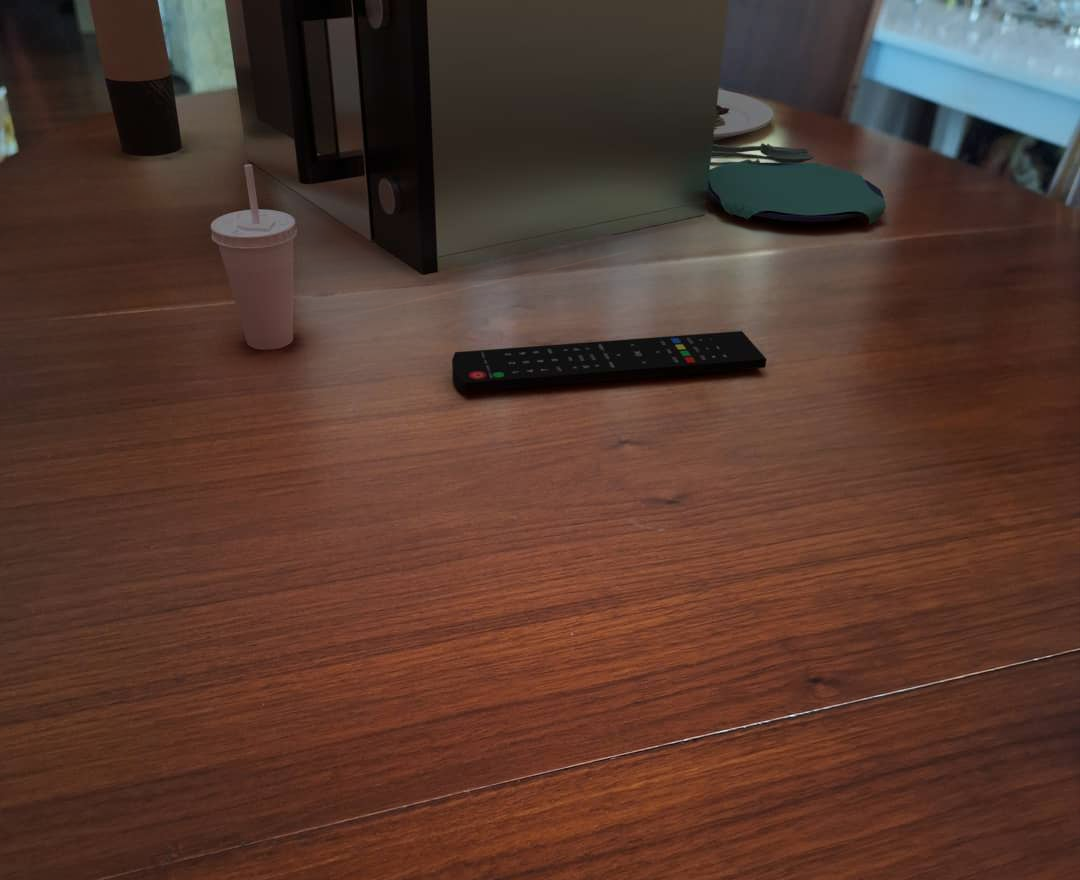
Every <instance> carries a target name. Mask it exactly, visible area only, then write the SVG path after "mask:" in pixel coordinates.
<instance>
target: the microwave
mask: <svg viewBox="0 0 1080 880" xmlns="http://www.w3.org/2000/svg"><path fill="white" fill-rule="evenodd" d="M356 1H357V14H358V27H359V40H360V53H361V66H362V79H363V93H364V106H365V119H366V132H367V145H368V158H369V171H370V184H371V198H372V211H373V224H374V237H375V241H374V243H375V244H377V245H378V246H380V247H382V248H383V249H385V250H386V251H388V252H389V253H390V254H392V255H394V256H395V257H397V258H398V259H400V260H401V261H402V262H404V263H406V264H407V265H408V266H411V268H413V269H415V270H416V271H417V272H420V273H421V274H429V273H433V272H437V273H439V272H445V271H449V270H454V269H458V268H463V267H468V266H473V265H477V264H481V263H486V262H491V261H495V260H501V259H504V258H510V257H513V256H514V257H515V256H518V255H522V254H523V255H524V254H527V253H531V252H536V251H541V250H546V249H550V248H556V247H560V246H565V245H569V244H573V243H574V244H575V243H579V242H583V241H588V240H592V239H597V238H601V237H606V236H610V235H611V236H614V235H619V234H622V233H628V232H632V231H637V230H641V229H642V230H643V229H646V228H650V227H656V226H660V225H664V224H665V225H666V224H669V223H673V222H678V221H683V220H687V219H692V218H697V217H700V216H705V215H706V207H707V198H708V196H707V190H708V181H709V172H710V169H711V165H710V163H711V162H712V157H711V154H712V145H713V144H714V140H713V136H714V127H715V118H716V109H717V99H718V90H720V81H721V80H720V79H721V73H722V64H723V63H722V60H723V52H724V44H725V35H726V25H727V18H728V17H727V16H728V8H729V6H728V5H729V0H356Z"/></svg>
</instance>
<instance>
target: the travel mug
mask: <svg viewBox="0 0 1080 880" xmlns="http://www.w3.org/2000/svg"><path fill="white" fill-rule="evenodd" d="M88 2H89V6H90V13H91V17H92V23H93V27H94V32H95V37H96V41H97V48H98V52H99V57H100V62H101V67H102V72H103V77H104V80H105V85H106V89H107V93H108V97H109V101H110V106H111V109H112V114H113V118H114V122H115V127H116V130H117V134H118V139H119V142H120V146H121V150H122V152H123V153H125V154H126V155H129V156H135V157H155V156H164V155H169V154H173V153H176V152H178V151H180V150H181V149H182V145H183V144H182V137H181V136H182V135H181V129H180V123H179V115H178V109H177V103H176V95H175V87H174V81H173V75H172V69H171V64H170V58H169V53H168V46H167V42H166V41H167V40H166V36H165V32H164V26H163V20H162V16H161V10H160V9H161V8H160V5H159V0H88Z"/></svg>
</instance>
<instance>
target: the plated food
mask: <svg viewBox="0 0 1080 880" xmlns="http://www.w3.org/2000/svg"><path fill="white" fill-rule="evenodd" d="M774 115H775V112H774V110H773V109H772V107H771V106H769V105H768V104H766V102H763V101H762V100H759V99H756V98H755V97H751V96H748V95H745V94H743V93H737V92H734V91H729V90H726V89H725V90H723V89H719V90H718V99H717V109H716V118H715V127H714V136H713V141H719V140H725V139H728V138H732V137H735V136H737V135H742V134H746V133H751V132H754V131H757V130H760V129H762V128H764V127H766V126H768V125H769V124H770V123H772V122H773V119H774V117H775V116H774Z"/></svg>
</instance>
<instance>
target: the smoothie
mask: <svg viewBox="0 0 1080 880" xmlns="http://www.w3.org/2000/svg"><path fill="white" fill-rule="evenodd" d="M243 167H244V174H245V180H246V187H247V193H248V194H247V195H248V201H249V209H244V210H238V211H233V212H228V213H226V214H223V215H221V216H219V217H216V218H215V219H214V220H213V221H211V223H210V230H211V240H212V241H213V242H214V243H215V244H217V245H218V249H219V253H220V257H221V260H222V264H223V266H224V270H225V273H226V277H227V280H228V283H229V287H230V291H231V294H232V296H233V300H234V303H235V307H236V310H237V314H238V317H239V321H240V324H241V327H242V330H243V333H244V334H243V335H244V338H245V341H246V344H247V346H249V347H250V348H253V349H255V350H260V351H261V350H263V351H269V350H271V351H272V350H278V349H281V348H285V347H287V346H288V345H290V344H291V343H292V342H293V341H294V256H295V255H294V253H295V252H294V239H295V238H296V236H297V235H298V230H297V225H296V218H295V217H293V215H291V214H289V213H286V212H283V211H280V210H276V209H275V210H274V209H259V204H258V198H257V190H256V183H255V177H254V169H253V164H250V163H249V164H244V166H243Z"/></svg>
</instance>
